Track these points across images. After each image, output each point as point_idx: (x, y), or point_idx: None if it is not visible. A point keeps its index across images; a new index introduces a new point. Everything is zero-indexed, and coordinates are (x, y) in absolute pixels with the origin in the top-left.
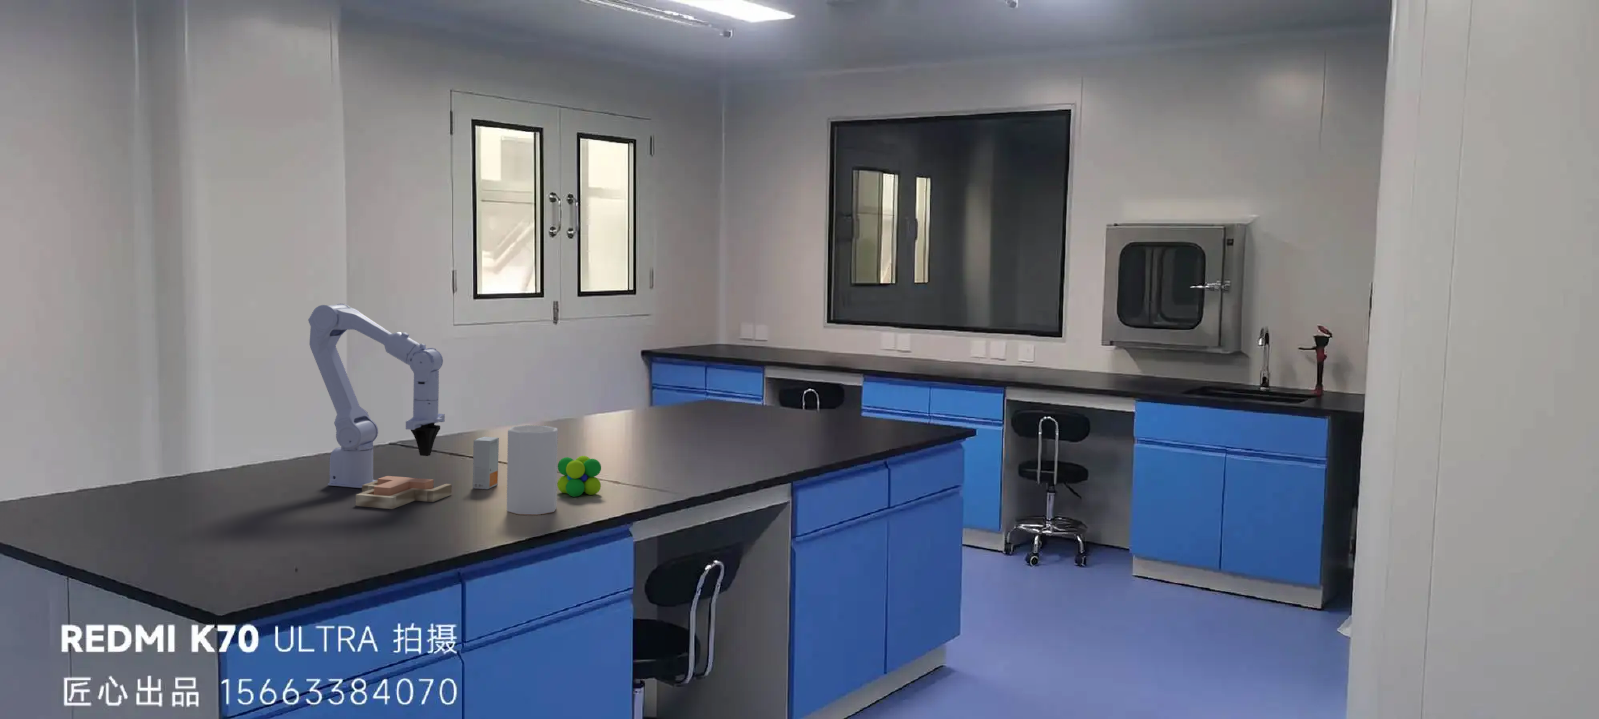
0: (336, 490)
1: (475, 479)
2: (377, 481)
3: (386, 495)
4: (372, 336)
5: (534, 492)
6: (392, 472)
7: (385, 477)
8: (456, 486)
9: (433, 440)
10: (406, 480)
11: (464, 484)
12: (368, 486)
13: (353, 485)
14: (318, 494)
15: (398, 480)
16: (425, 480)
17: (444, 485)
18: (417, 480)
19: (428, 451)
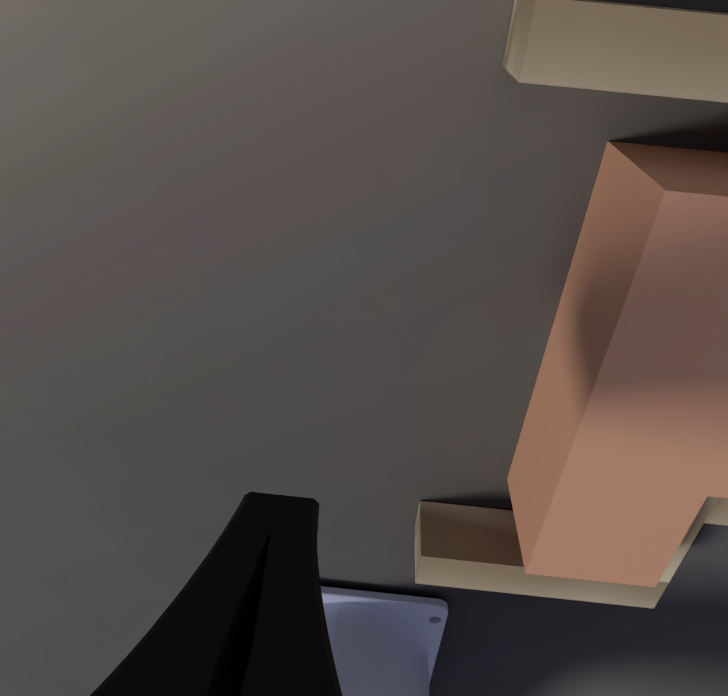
0: (505, 661)
1: None
2: (518, 578)
3: None
4: None
5: None
6: (2, 606)
7: (595, 564)
8: (143, 118)
9: (166, 662)
10: (724, 408)
11: (30, 82)
12: (668, 574)
13: (432, 641)
14: (609, 686)
15: (723, 460)
16: (725, 252)
17: (625, 52)
18: (723, 324)
19: (312, 539)
